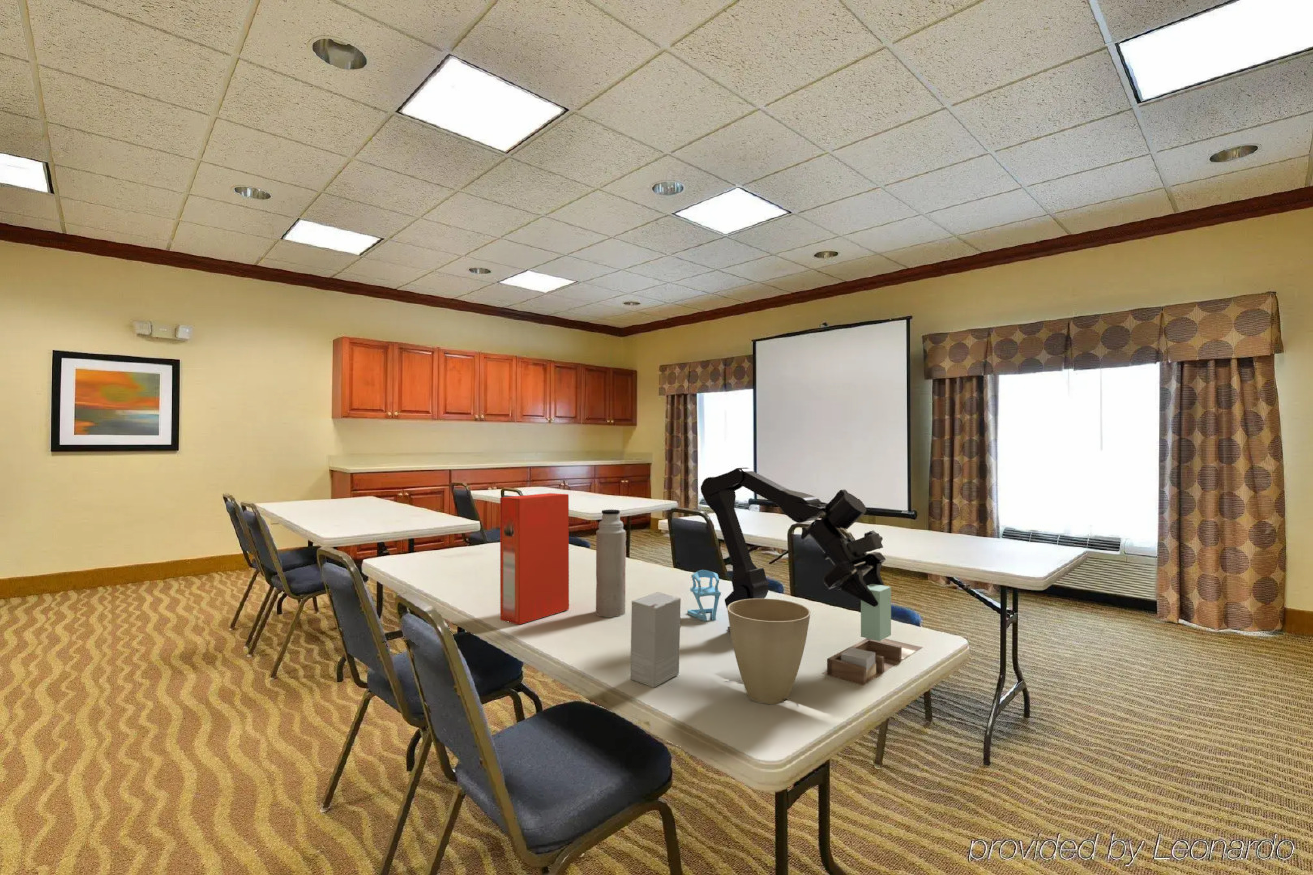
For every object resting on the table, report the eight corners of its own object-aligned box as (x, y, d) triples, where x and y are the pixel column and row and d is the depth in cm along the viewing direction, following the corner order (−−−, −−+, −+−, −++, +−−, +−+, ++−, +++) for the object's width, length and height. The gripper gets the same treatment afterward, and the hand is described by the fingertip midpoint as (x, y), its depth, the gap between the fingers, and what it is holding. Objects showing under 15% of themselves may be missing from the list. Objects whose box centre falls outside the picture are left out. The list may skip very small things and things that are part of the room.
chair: (696, 622, 156) (696, 575, 156) (686, 613, 164) (687, 569, 164) (724, 620, 158) (724, 574, 158) (713, 611, 166) (714, 567, 166)
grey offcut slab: (866, 670, 115) (866, 659, 115) (841, 664, 118) (841, 653, 118) (875, 662, 119) (875, 652, 119) (850, 657, 122) (850, 647, 122)
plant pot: (713, 701, 108) (713, 612, 108) (746, 674, 120) (746, 594, 121) (794, 722, 100) (794, 625, 100) (820, 690, 113) (820, 605, 113)
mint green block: (879, 641, 121) (879, 591, 121) (860, 636, 124) (860, 588, 124) (890, 634, 125) (891, 586, 125) (872, 630, 128) (872, 583, 128)
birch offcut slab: (864, 680, 115) (864, 670, 115) (840, 673, 118) (840, 663, 118) (876, 673, 118) (876, 663, 118) (852, 666, 122) (852, 656, 122)
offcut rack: (863, 690, 113) (863, 669, 113) (821, 678, 119) (821, 657, 119) (922, 651, 134) (922, 633, 134) (885, 642, 140) (885, 625, 140)
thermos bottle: (626, 609, 168) (626, 508, 168) (624, 617, 160) (624, 511, 160) (597, 608, 168) (598, 508, 168) (594, 617, 160) (594, 511, 160)
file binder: (499, 619, 157) (500, 497, 158) (548, 605, 171) (549, 492, 172) (520, 625, 153) (520, 498, 153) (568, 610, 166) (569, 494, 167)
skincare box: (655, 667, 124) (655, 590, 124) (683, 676, 119) (683, 596, 120) (627, 680, 117) (627, 598, 118) (655, 689, 113) (656, 604, 113)
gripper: (837, 523, 121) (891, 587, 113) (876, 515, 134) (927, 572, 127) (802, 557, 126) (851, 620, 119) (843, 546, 140) (890, 602, 132)
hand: (882, 602), depth 124 cm, fingers closed on mint green block, 5 cm apart
